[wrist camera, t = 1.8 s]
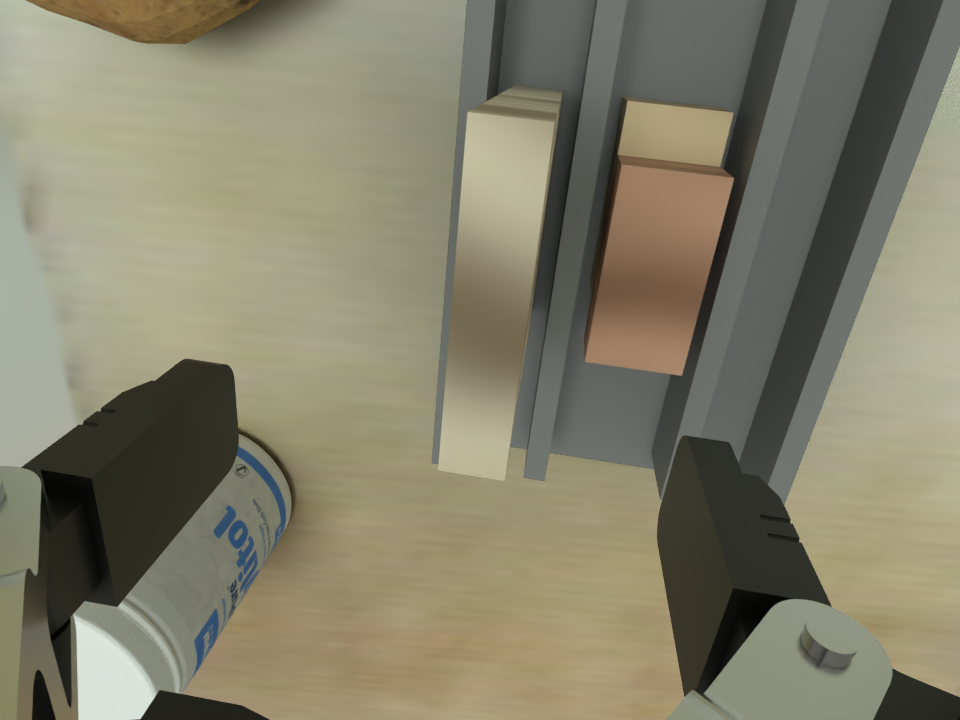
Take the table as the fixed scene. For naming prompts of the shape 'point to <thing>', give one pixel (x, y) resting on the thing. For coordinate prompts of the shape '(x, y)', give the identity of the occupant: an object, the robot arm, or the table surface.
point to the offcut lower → (666, 139)
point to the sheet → (496, 274)
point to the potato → (151, 16)
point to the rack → (748, 217)
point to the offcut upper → (654, 262)
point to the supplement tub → (182, 594)
